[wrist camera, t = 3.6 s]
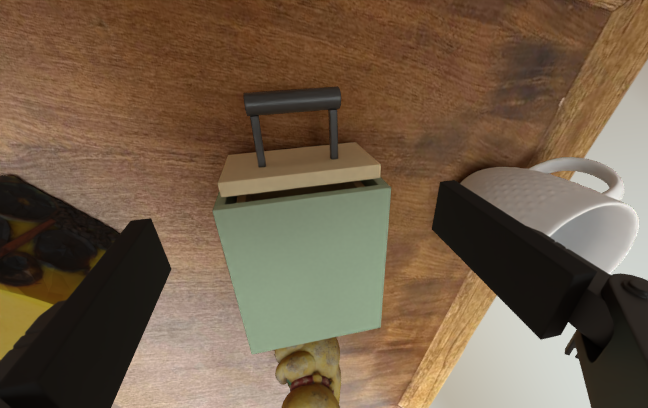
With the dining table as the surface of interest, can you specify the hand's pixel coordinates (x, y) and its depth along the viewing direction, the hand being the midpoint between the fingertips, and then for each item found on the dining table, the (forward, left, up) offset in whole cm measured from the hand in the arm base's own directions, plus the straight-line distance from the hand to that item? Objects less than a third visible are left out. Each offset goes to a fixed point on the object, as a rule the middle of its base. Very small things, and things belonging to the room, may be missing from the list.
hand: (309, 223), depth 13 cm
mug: (-3, +25, -16) cm, 30 cm away
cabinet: (+9, +5, -16) cm, 19 cm away
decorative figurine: (+25, +12, -16) cm, 33 cm away
